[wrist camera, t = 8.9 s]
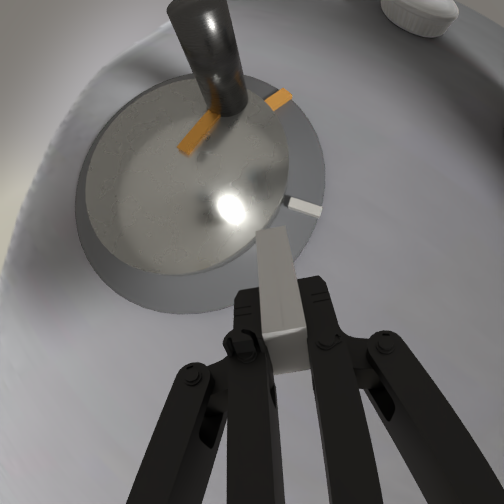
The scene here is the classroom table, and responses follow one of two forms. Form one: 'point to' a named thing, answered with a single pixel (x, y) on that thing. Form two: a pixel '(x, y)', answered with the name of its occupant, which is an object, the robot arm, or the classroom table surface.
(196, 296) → the base plate
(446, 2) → the ramekin
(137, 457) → the classroom table surface
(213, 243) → the dial
